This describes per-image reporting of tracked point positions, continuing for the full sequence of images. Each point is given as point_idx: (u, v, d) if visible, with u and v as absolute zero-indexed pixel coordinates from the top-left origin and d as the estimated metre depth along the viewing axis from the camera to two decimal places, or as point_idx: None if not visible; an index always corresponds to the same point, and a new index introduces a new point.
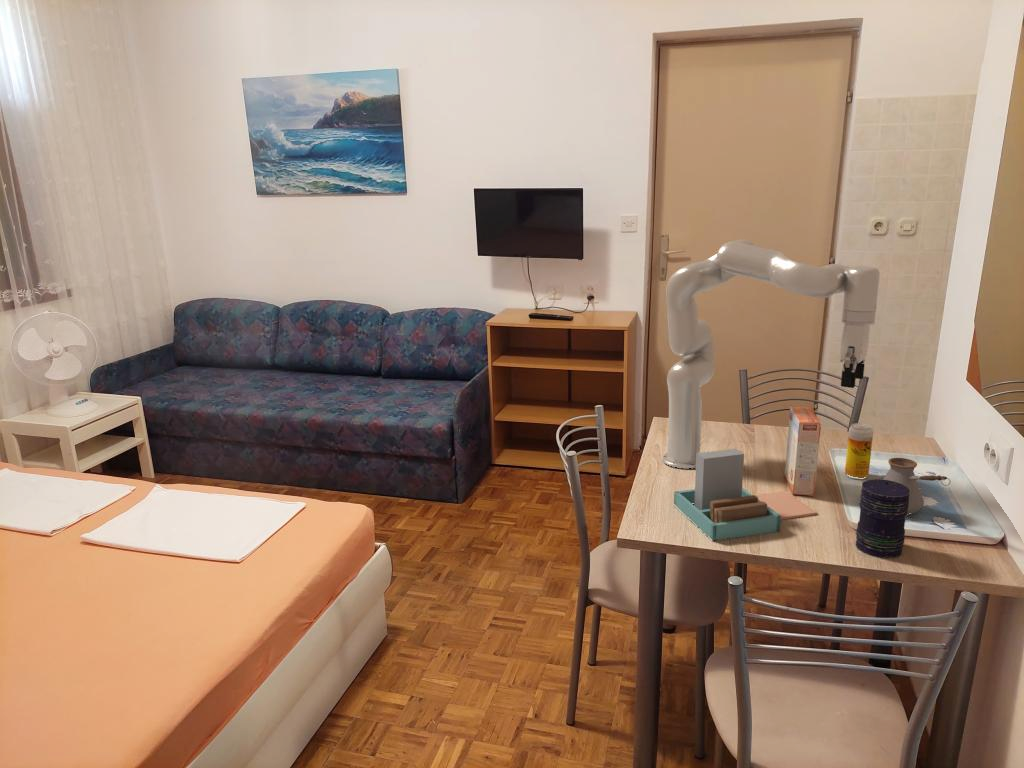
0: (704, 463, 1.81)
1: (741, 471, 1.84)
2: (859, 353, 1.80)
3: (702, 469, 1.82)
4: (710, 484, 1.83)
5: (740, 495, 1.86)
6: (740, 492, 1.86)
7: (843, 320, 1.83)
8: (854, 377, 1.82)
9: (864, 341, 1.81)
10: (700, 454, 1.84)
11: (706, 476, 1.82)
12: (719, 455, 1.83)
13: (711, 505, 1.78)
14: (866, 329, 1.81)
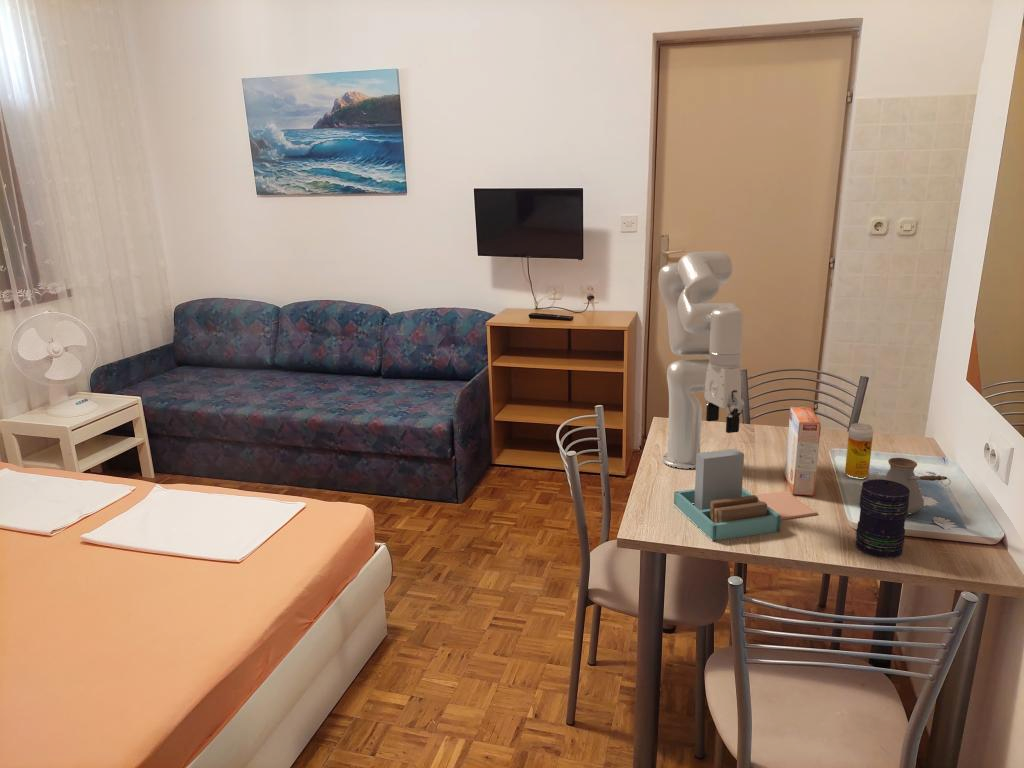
0: (704, 463, 1.81)
1: (741, 471, 1.84)
2: (740, 396, 1.75)
3: (702, 469, 1.82)
4: (710, 484, 1.83)
5: (740, 495, 1.86)
6: (740, 492, 1.86)
7: (718, 365, 1.75)
8: (738, 421, 1.76)
9: None
10: (700, 454, 1.84)
11: (706, 476, 1.82)
12: (719, 455, 1.83)
13: (711, 505, 1.78)
14: None
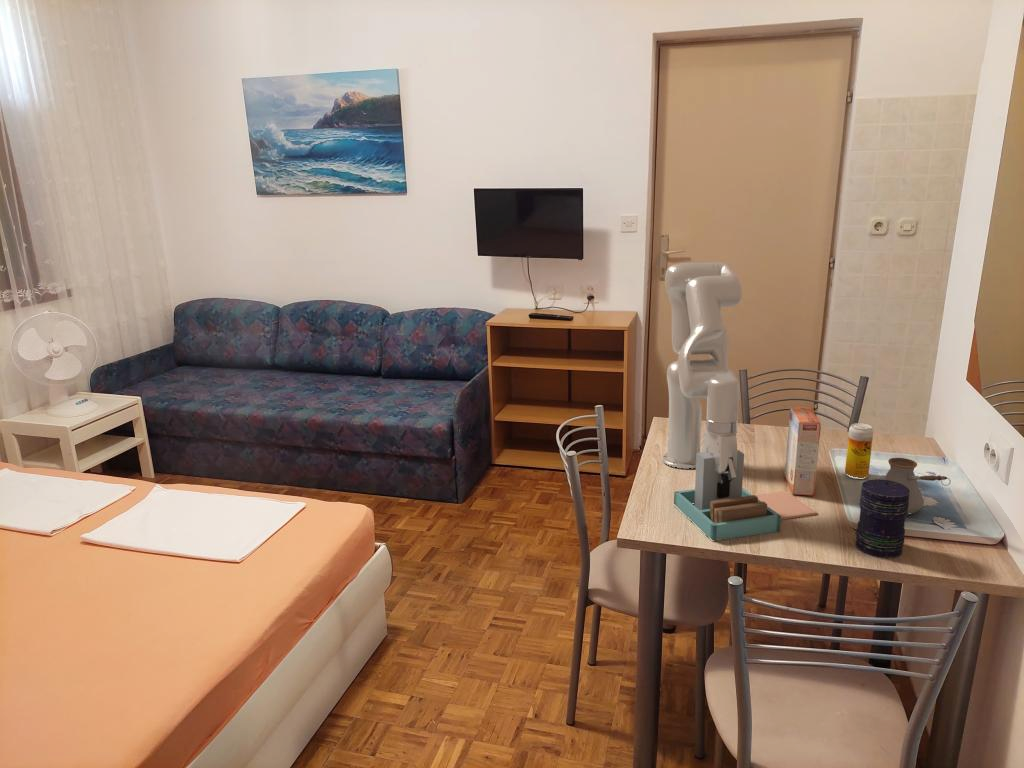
0: (704, 463, 1.81)
1: (741, 471, 1.84)
2: (736, 462, 1.80)
3: (702, 469, 1.82)
4: (710, 484, 1.83)
5: (740, 495, 1.86)
6: (740, 492, 1.86)
7: (715, 432, 1.79)
8: (728, 486, 1.84)
9: None
10: (700, 454, 1.84)
11: (706, 476, 1.82)
12: None
13: (711, 505, 1.78)
14: None
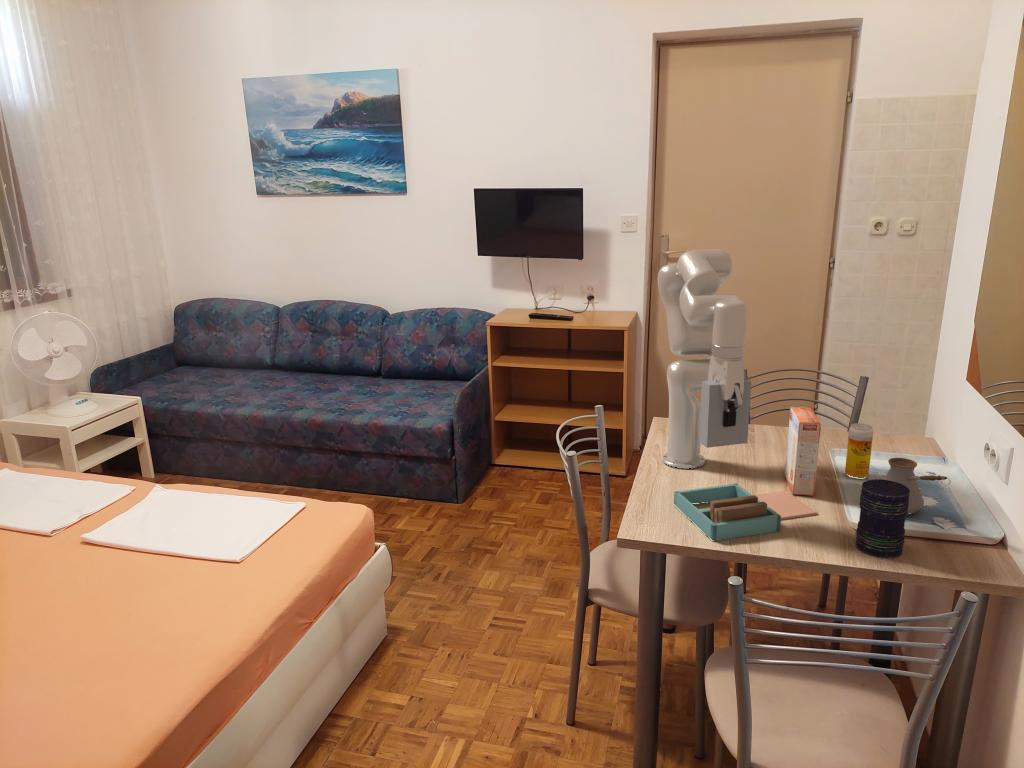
0: (710, 390, 1.76)
1: (748, 399, 1.79)
2: (743, 388, 1.75)
3: (707, 397, 1.77)
4: (716, 412, 1.78)
5: (747, 425, 1.81)
6: (747, 422, 1.81)
7: (721, 357, 1.74)
8: (735, 415, 1.79)
9: None
10: (706, 382, 1.79)
11: (712, 403, 1.77)
12: None
13: (711, 505, 1.78)
14: None
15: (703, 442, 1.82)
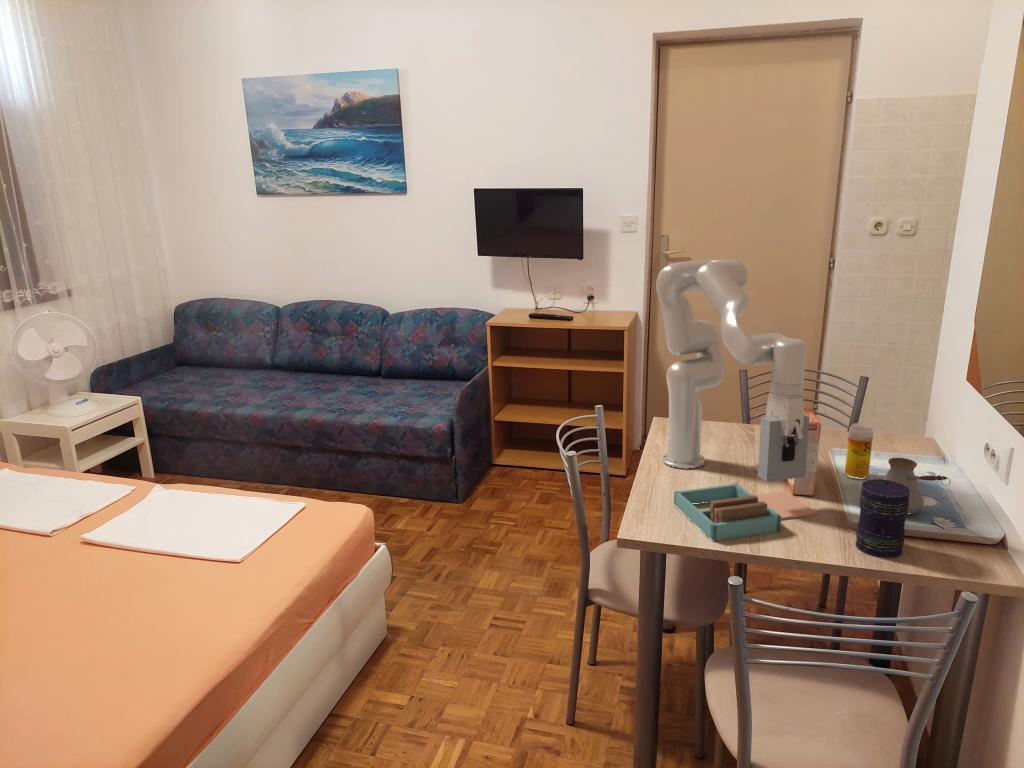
0: (770, 426, 1.81)
1: (806, 434, 1.84)
2: None
3: (768, 432, 1.82)
4: (775, 447, 1.83)
5: (805, 459, 1.86)
6: (805, 456, 1.85)
7: (781, 395, 1.79)
8: (794, 450, 1.83)
9: None
10: (765, 417, 1.83)
11: (772, 439, 1.82)
12: None
13: (711, 505, 1.78)
14: None
15: (762, 476, 1.86)
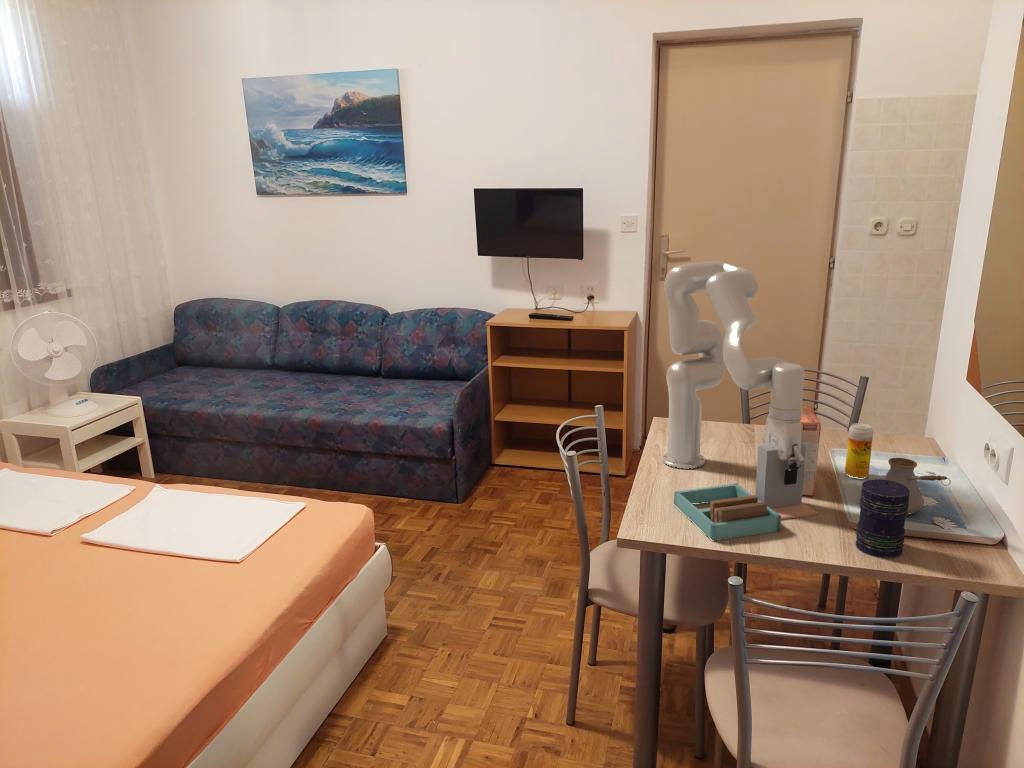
0: (767, 455, 1.83)
1: (803, 463, 1.86)
2: (800, 449, 1.81)
3: (764, 461, 1.84)
4: (772, 476, 1.85)
5: (801, 487, 1.88)
6: (801, 484, 1.88)
7: (779, 419, 1.81)
8: (796, 473, 1.83)
9: None
10: (762, 446, 1.86)
11: (769, 468, 1.84)
12: None
13: (711, 505, 1.78)
14: None
15: None
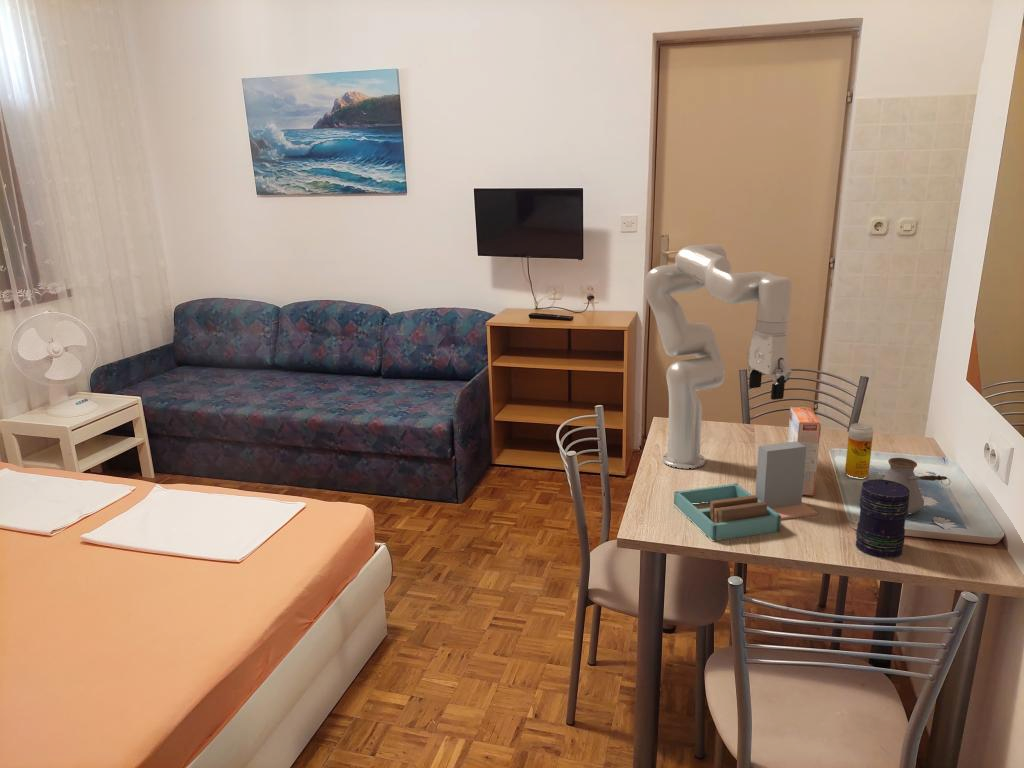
0: (767, 455, 1.83)
1: (803, 463, 1.86)
2: (786, 363, 1.78)
3: (765, 462, 1.84)
4: (772, 476, 1.85)
5: (801, 487, 1.88)
6: (801, 484, 1.88)
7: (765, 333, 1.77)
8: (783, 388, 1.80)
9: None
10: (762, 447, 1.86)
11: (769, 468, 1.84)
12: (782, 448, 1.85)
13: (711, 505, 1.78)
14: None
15: None
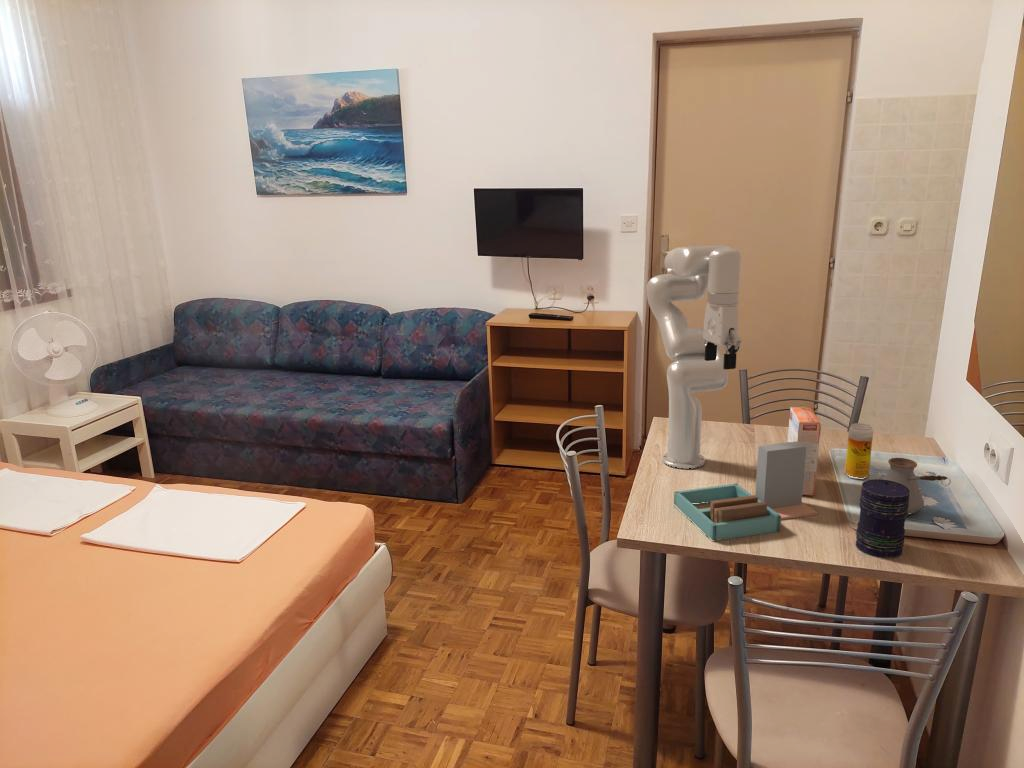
0: (767, 455, 1.83)
1: (803, 463, 1.86)
2: (737, 333, 1.83)
3: (765, 462, 1.84)
4: (772, 476, 1.85)
5: (801, 487, 1.88)
6: (801, 484, 1.88)
7: (716, 304, 1.82)
8: (735, 358, 1.84)
9: None
10: (762, 447, 1.86)
11: (769, 468, 1.84)
12: (782, 448, 1.85)
13: (711, 505, 1.78)
14: None
15: None
